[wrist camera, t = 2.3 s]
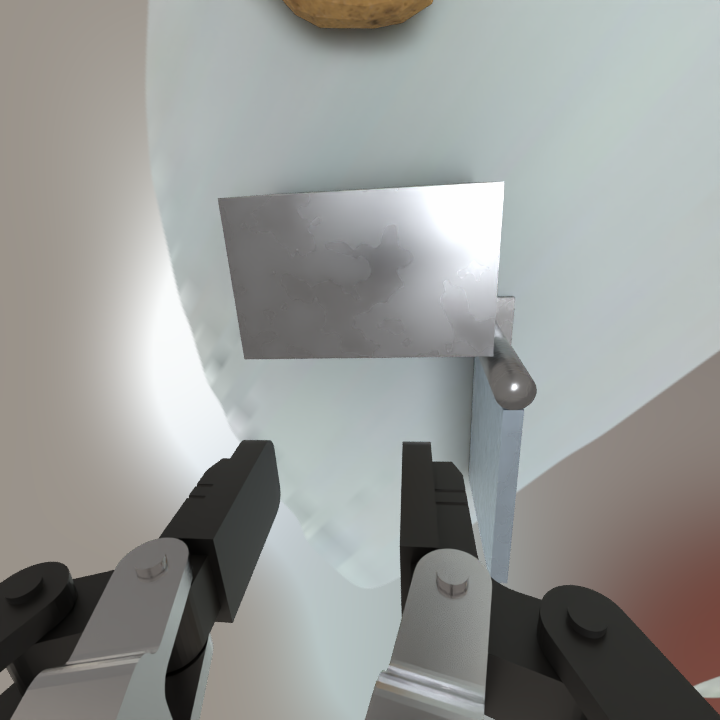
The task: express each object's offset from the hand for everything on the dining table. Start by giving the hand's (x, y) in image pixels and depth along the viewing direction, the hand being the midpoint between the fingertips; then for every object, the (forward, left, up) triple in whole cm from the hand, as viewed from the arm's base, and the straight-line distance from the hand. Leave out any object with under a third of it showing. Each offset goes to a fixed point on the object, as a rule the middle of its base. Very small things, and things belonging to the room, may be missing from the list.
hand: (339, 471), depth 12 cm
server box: (+1, 0, -27) cm, 27 cm away
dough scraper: (+14, -3, -26) cm, 30 cm away
